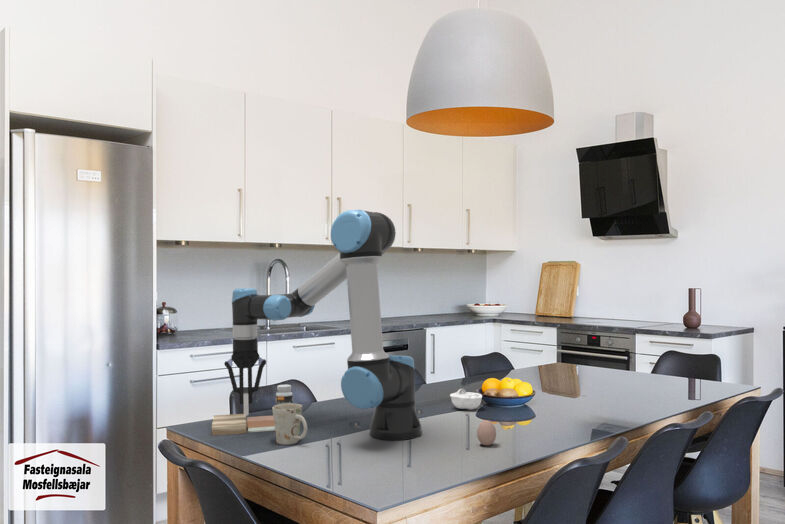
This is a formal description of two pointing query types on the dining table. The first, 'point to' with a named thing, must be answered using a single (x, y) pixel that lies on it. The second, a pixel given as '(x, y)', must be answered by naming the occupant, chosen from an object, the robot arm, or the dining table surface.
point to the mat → (261, 429)
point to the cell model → (466, 399)
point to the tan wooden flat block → (229, 424)
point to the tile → (260, 421)
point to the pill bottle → (284, 394)
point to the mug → (288, 423)
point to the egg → (486, 433)
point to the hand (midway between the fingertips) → (246, 414)
